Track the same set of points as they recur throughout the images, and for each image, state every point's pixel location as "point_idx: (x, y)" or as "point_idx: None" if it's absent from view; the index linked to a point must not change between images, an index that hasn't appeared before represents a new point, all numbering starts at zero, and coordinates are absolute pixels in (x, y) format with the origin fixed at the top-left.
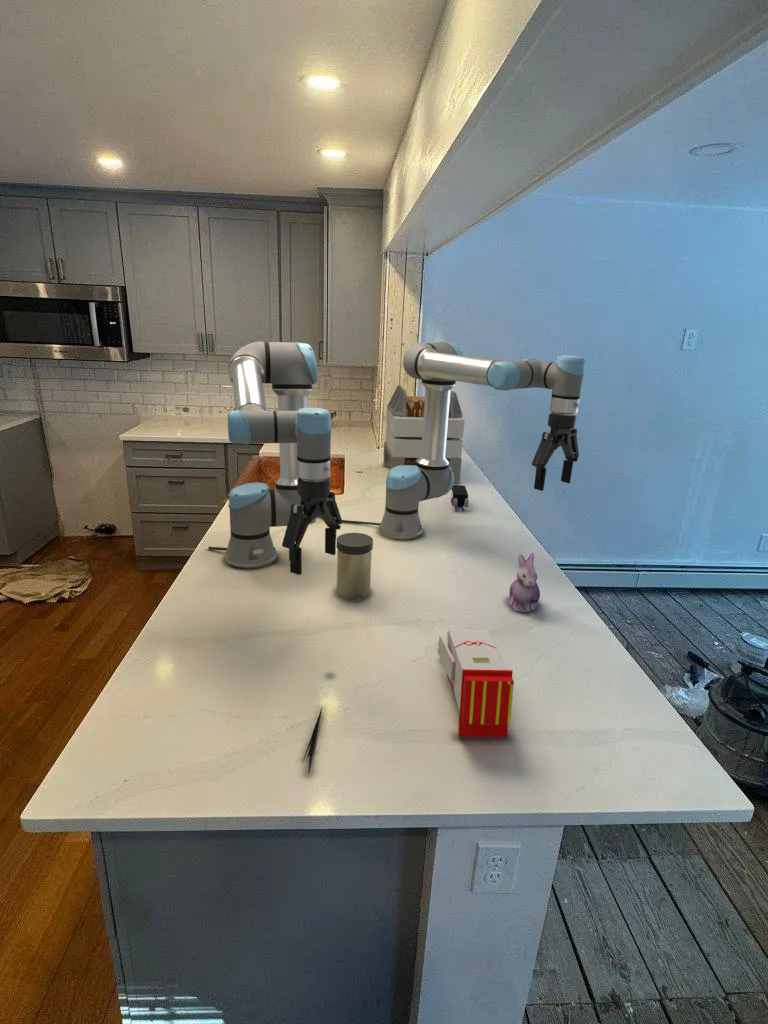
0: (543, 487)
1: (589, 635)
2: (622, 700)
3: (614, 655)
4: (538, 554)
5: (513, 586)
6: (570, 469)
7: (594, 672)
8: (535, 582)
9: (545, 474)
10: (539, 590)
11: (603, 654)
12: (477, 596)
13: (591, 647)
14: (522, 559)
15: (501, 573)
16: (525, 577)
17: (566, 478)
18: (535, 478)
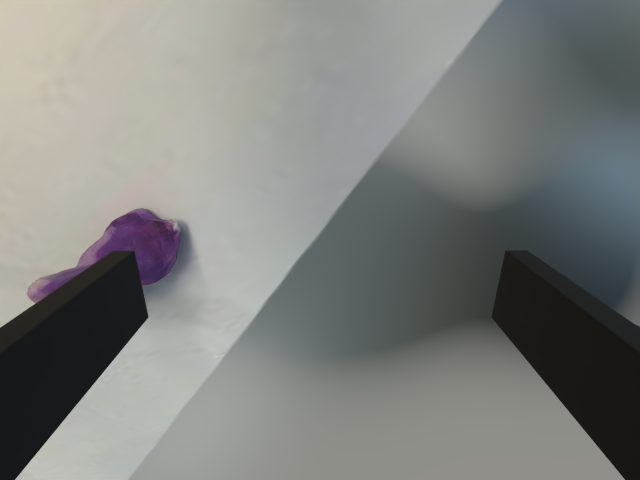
0: (130, 333)
1: (176, 372)
2: (84, 460)
3: (163, 416)
4: (432, 83)
5: (96, 243)
6: (569, 407)
7: (97, 419)
8: (145, 276)
9: (54, 426)
10: (160, 278)
11: (149, 407)
12: (70, 154)
13: (148, 389)
14: (35, 300)
15: (222, 102)
16: None
17: (515, 315)
18: (49, 297)
